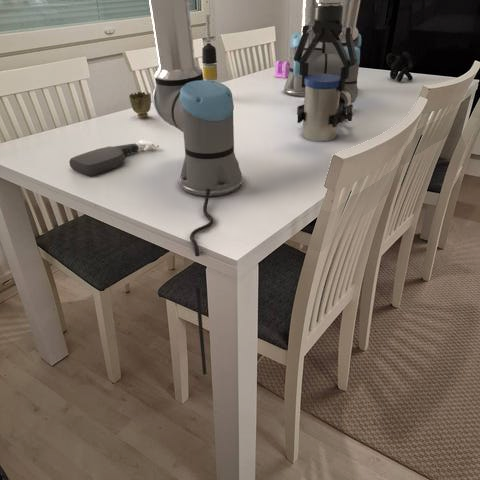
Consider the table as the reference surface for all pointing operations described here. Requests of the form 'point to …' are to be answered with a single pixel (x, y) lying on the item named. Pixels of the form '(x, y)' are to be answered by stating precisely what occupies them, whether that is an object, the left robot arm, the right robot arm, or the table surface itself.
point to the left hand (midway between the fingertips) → (322, 88)
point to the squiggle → (399, 66)
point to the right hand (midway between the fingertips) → (316, 120)
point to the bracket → (279, 69)
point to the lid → (322, 81)
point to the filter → (209, 57)
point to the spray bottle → (106, 157)
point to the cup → (141, 103)
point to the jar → (320, 113)
